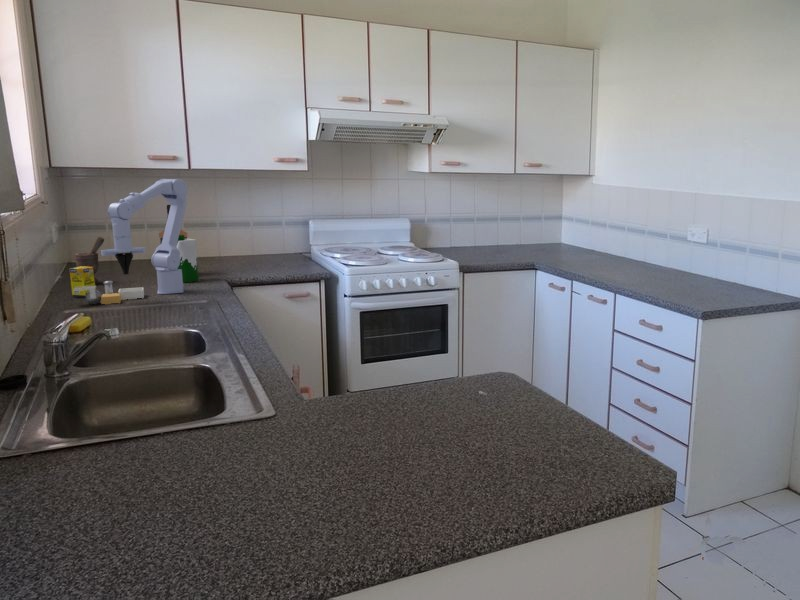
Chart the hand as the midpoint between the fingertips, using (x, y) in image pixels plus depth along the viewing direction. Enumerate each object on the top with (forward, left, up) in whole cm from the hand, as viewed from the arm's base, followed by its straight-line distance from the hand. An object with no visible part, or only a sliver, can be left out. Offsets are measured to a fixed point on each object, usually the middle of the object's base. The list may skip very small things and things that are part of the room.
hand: (125, 274), depth 222 cm
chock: (+6, +1, -10) cm, 12 cm away
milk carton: (-22, -35, -10) cm, 42 cm away
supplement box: (+16, -17, -10) cm, 25 cm away
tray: (-1, -6, -10) cm, 12 cm away
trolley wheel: (+13, +1, -10) cm, 16 cm away
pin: (+7, -6, -10) cm, 13 cm away
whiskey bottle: (-18, -50, -10) cm, 54 cm away
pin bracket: (+7, -6, -10) cm, 13 cm away
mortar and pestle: (+15, -43, -10) cm, 46 cm away
